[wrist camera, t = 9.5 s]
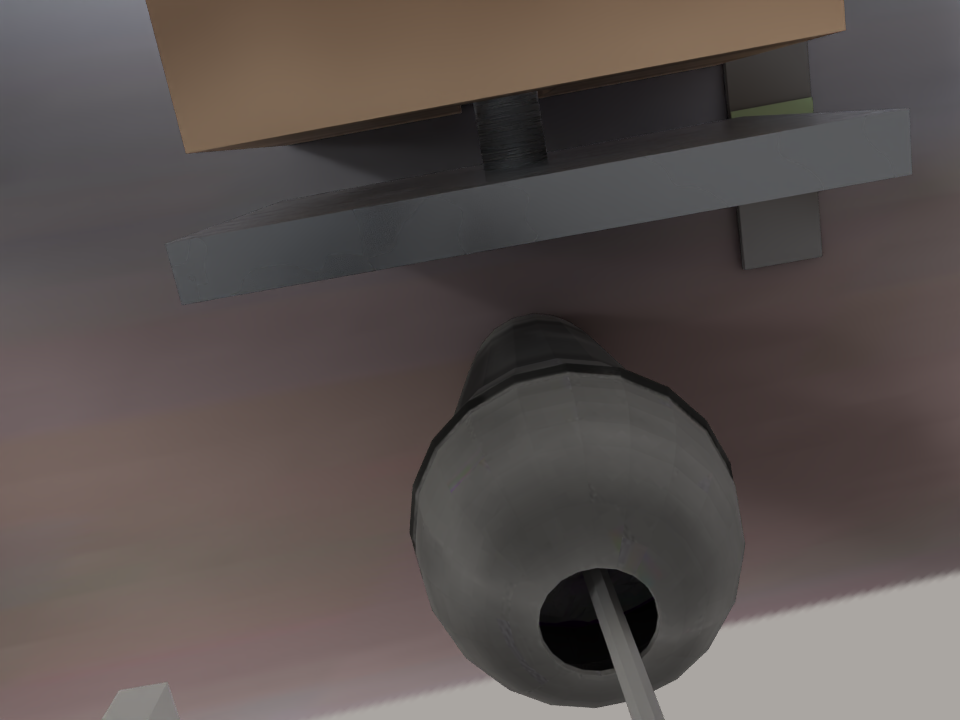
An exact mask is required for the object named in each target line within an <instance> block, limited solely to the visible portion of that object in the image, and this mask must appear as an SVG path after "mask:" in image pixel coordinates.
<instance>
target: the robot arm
mask: <svg viewBox="0 0 960 720" xmlns="http://www.w3.org/2000/svg"><path fill="white" fill-rule="evenodd" d="M102 720H180V718H179V715H178V712H177V709H176V706H175V703H174V700H173V697H172V694H171V691H170V688H169V685H168V682H165V683H159V684H153V685H148V686H142V687H136V688H130V689H124V690H119V691H118V693H117V695H116V696H115V698H114V700H113V701H112V703H111V705H110V706H109V708H108V710H107V711H106V713H105V715H104V716H103V718H102Z"/></svg>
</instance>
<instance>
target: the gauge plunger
mask: <svg viewBox="0 0 960 720" xmlns="http://www.w3.org/2000/svg"><path fill="white" fill-rule="evenodd" d="M473 106H474V112H475V118H476V123H477V129H478V135H479V141H480V147H481V152H482V158H483V164H480V165H475V166H469V167H464V168H458V169H453V170H448V171H442V172H437V173H431V174H426V175H420V176H415V177H409V178H404V179H399V180H393V181H388V182H382V183H377V184H371V185H366V186H360V187H355V188H349V189H344V190H339V191H333V192H328V193H322V194H317V195H311V196H306V197H300V198H295V199H290V200H284V201H281V202H278V203H275V204H272V205H270V206H267V207H264V208H261V209H259V210H256V211H253V212H251V213H248V214H245V215H242V216H240V217H237V218H234V219H231V220H229V221H226V222H223V223H221V224H218V225H215V226H212V227H210V228H207V229H204V230H201V231H199V232H196V233H193V234H190V235H188V236H185V237H182V238H180V239H177V240H174V241H171V242H169V243H166V244H165V246H166V250H167V253H168V257H169V261H170V264H171V268H172V271H173V275H174V279H175V282H176V286H177V289H178V293H179V297H180V300H181V304H182V305H186V304H191V303H197V302H202V301H208V300H214V299H219V298H225V297H230V296H236V295H242V294H247V293H253V292H258V291H264V290H270V289H275V288H281V287H286V286H292V285H297V284H303V283H309V282H314V281H320V280H325V279H331V278H337V277H342V276H348V275H353V274H359V273H364V272H370V271H376V270H381V269H387V268H392V267H398V266H404V265H409V264H415V263H420V262H426V261H432V260H437V259H443V258H448V257H454V256H459V255H465V254H471V253H476V252H482V251H487V250H493V249H499V248H504V247H510V246H515V245H521V244H526V243H532V242H538V241H543V240H549V239H554V238H560V237H566V236H571V235H577V234H582V233H588V232H594V231H599V230H605V229H610V228H616V227H621V226H627V225H633V224H638V223H644V222H649V221H655V220H661V219H666V218H672V217H677V216H683V215H688V214H694V213H700V212H705V211H711V210H716V209H722V208H728V207H733V206H739V205H744V204H750V203H756V202H761V201H767V200H772V199H778V198H783V197H789V196H795V195H800V194H806V193H811V192H817V191H823V190H828V189H834V188H839V187H845V186H850V185H856V184H862V183H867V182H873V181H878V180H884V179H890V178H895V177H901V176H906V175H912V159H911V134H910V110H909V108H902V109H882V110H862V111H842V112H821V113H801V114H781V115H761V116H742V117H736V118H731V119H726V120H720V121H715V122H709V123H704V124H698V125H693V126H687V127H682V128H676V129H671V130H666V131H660V132H655V133H649V134H644V135H638V136H633V137H627V138H622V139H617V140H611V141H606V142H600V143H595V144H589V145H584V146H578V147H573V148H567V149H562V150H557V151H551V152H546V146H545V139H544V133H543V126H542V119H541V113H540V106H539V100H538V93H537V91H534V92H529V93H524V94H518V95H513V96H508V97H502V98H497V99H491V100H486V101H481V102H475V103H473Z"/></svg>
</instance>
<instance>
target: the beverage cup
mask: <svg viewBox="0 0 960 720" xmlns="http://www.w3.org/2000/svg"><path fill="white" fill-rule="evenodd" d="M410 536H411V539H412V543H413V546H414V550H415V554H416V557H417V561H418V564H419V568H420V571H421V575H422V578H423V581H424V584H425V588H426V591H427V595H428V598H429V601H430V605H431V608H432V611H433V612H434V613H435V615H436V616H437V618H438V619H439V621H440V622H441V623H442V625H443V626H444V628H445V629H446V631H447V632H448V633H449V635H450V636H451V638H452V639H453V640H454V642H455V643H456V645H457V646H458V648H459V649H460V650H461V652H462V653H463V655H464V656H465V657H466V658H467V659H468V660H469V661H471V662H472V663H473V664H475V665H476V666H477V667H479V668H480V669H481V670H483V671H484V672H485V673H487V674H488V675H489V676H491V677H492V678H493V679H495V680H496V681H498V682H499V683H500V684H502V685H503V686H505V687H506V688H508V689H509V690H511V691H513V692H517V693H519V694H522V695H525V696H527V697H530V698H533V699H536V700H539V701H541V702H544V703H547V704H550V705H559V706H575V707H589V708H597V707H603V706H608V705H613V704H618V703H622V702H626V703H627V706H628V709H629V712H630V715H631V718H632V720H665V719H664V717H663V714H662V712H661V709H660V706H659V704H658V701H657V699H656V696H655V693H654V691H655V690H657V689H658V688H660V687H662V686H664V685H666V684H668V683H670V682H672V681H674V680H676V679H678V678H679V676H681V675H682V674H683V673H684V672H685V671H686V670H687V669H688V668H689V667H690V666H691V665H692V664H694V663H695V662H696V661H697V660H698V659H699V658H700V657H701V656H702V655H703V654H704V653H705V652H706V651H707V650H708V649H709V647H710V646H711V644H712V642H713V640H714V638H715V637H716V635H717V633H718V631H719V630H720V628H721V626H722V624H723V622H724V621H725V619H726V617H727V615H728V614H729V612H730V610H731V608H732V606H733V605H734V603H735V599H736V594H737V588H738V583H739V578H740V572H741V567H742V561H743V555H744V548H745V541H744V535H743V529H742V523H741V517H740V511H739V505H738V499H737V494H736V488H735V484H734V482H733V476H732V470H731V464H730V461H729V460H728V458H727V456H726V454H725V452H724V451H723V449H722V447H721V445H720V444H719V442H718V440H717V438H716V437H715V435H714V433H713V431H712V430H711V428H710V426H709V424H708V422H707V421H706V420H705V419H704V418H703V417H702V416H701V415H700V414H698V413H697V412H696V411H695V410H694V409H693V408H692V407H690V406H689V405H688V404H687V403H686V402H685V401H684V400H682V399H681V398H680V397H679V396H678V395H677V394H675V393H674V392H673V391H672V390H671V389H670V388H669V387H667V386H664V385H662V384H659V383H657V382H654V381H652V380H650V379H647V378H645V377H642V376H640V375H637V374H635V373H632V372H630V371H628V370H626V369H625V368H624V367H622V366H621V365H620V364H619V363H618V362H617V361H616V360H615V359H614V358H613V357H612V356H611V355H609V354H608V353H607V352H606V351H605V350H604V349H603V348H602V347H601V346H600V345H599V344H598V343H596V342H595V341H594V340H593V339H592V338H591V337H590V336H588V335H587V334H586V333H585V332H584V331H583V330H581V329H580V328H578V327H576V326H574V325H573V324H572V323H570V322H568V321H565V320H563V319H560V318H558V317H556V316H553V315H542V314H530V315H525V316H521V317H517V318H513V319H511V320H509V321H508V322H506V323H504V324H502V325H501V326H499V327H497V328H496V329H495V330H494V331H493V332H492V333H491V334H490V335H489V336H488V338H487V339H486V340H485V341H484V342H483V343H482V345H481V347H480V350H479V351H478V352H477V354H476V356H475V359H474V361H473V363H472V366H471V368H470V370H469V372H468V375H467V378H466V381H465V384H464V387H463V390H462V393H461V396H460V399H459V402H458V405H457V408H456V411H455V414H454V416H453V417H452V419H451V420H450V421H449V422H448V423H447V424H446V425H445V426H444V427H443V429H442V430H441V431H440V432H439V433H438V434H437V435H436V436H435V437H434V439H433V440H432V442H431V444H430V446H429V449H428V451H427V453H426V456H425V458H424V460H423V463H422V465H421V467H420V470H419V472H418V474H417V477H416V479H415V481H414V484H413V489H412V504H411V519H410Z"/></svg>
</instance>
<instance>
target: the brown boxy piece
mask: <svg viewBox="0 0 960 720" xmlns="http://www.w3.org/2000/svg"><path fill="white" fill-rule="evenodd" d="M146 4H147V8H148V11H149V15H150V19H151V23H152V26H153V30H154V34H155V38H156V42H157V45H158V49H159V53H160V57H161V61H162V64H163V68H164V72H165V76H166V80H167V83H168V87H169V91H170V95H171V99H172V102H173V106H174V110H175V114H176V118H177V121H178V125H179V129H180V133H181V136H182V140H183V144H184V148H185V152H186V154H187V153H199V152H211V151H224V150H236V149H248V148H260V147H272V146H284V145H292V144H297V143H302V142H308V141H313V140H318V139H324V138H329V137H335V136H340V135H345V134H351V133H356V132H361V131H367V130H372V129H377V128H383V127H388V126H394V125H399V124H404V123H410V122H415V121H420V120H426V119H431V118H437V117H442V116H447V115H453V114H458V113H462V111H461V105H465V104H470V103H475V102H481V101H486V100H491V99H497V98H502V97H508V96H513V95H518V94H524V93H529V92H534V91H537V93H538V98H544V97H549V96H555V95H560V94H565V93H571V92H576V91H581V90H587V89H592V88H597V87H603V86H608V85H614V84H619V83H624V82H630V81H635V80H640V79H646V78H651V77H657V76H662V75H667V74H673V73H678V72H683V71H689V70H694V69H699V68H705V67H710V66H715V65H719V64H722V63H723V71H724V81H725V92H726V102H727V112H728V119H731V118H736V117H742V116H761V115H781V114H801V113H813V99H812V97H811V88H810V74H809V60H808V46H807V41H808V40H812V39H815V38H819V37H823V36H826V35H830V34H834V33H838V32H841V31H845V30H846V27H845V10H844V0H146ZM737 216H738V226H739V236H740V247H741V257H742V267H743V269H744V270H748V269H754V268H760V267H766V266H771V265H777V264H783V263H788V262H794V261H800V260H805V259H811V258H817V257H822V243H821V229H820V215H819V201H818V191H817V192H811V193H806V194H800V195H795V196H789V197H783V198H778V199H772V200H767V201H761V202H756V203H750V204H744V205H739V206H737Z"/></svg>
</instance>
